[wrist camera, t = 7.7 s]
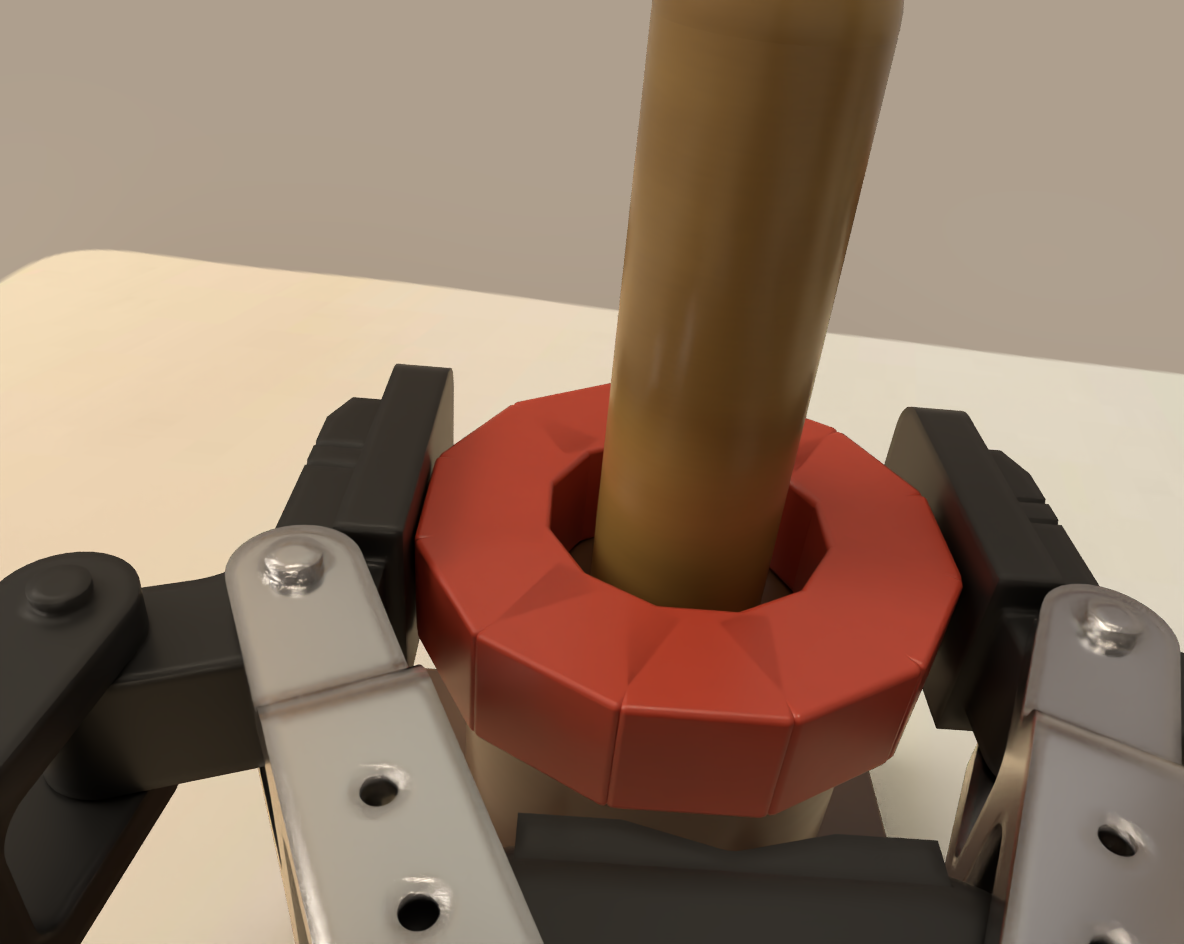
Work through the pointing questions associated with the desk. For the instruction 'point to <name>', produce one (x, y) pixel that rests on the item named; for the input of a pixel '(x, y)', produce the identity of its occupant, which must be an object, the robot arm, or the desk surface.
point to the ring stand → (721, 342)
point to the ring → (676, 624)
